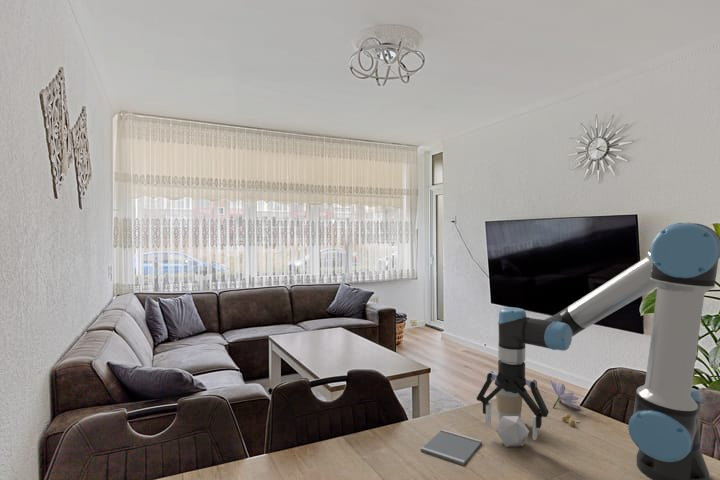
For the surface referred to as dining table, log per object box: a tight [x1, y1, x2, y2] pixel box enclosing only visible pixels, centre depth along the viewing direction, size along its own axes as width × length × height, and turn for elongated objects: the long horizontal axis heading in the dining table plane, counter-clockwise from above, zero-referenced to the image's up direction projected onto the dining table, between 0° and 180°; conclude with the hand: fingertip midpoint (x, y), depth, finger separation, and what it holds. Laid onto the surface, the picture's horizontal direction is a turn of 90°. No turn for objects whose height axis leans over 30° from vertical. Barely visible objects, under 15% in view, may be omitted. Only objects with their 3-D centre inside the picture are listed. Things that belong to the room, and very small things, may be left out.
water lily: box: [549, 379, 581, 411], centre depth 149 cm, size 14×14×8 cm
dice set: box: [561, 413, 580, 427], centre depth 137 cm, size 5×5×2 cm
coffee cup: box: [494, 378, 523, 423], centre depth 138 cm, size 9×9×15 cm
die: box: [495, 416, 530, 448], centre depth 124 cm, size 8×9×10 cm
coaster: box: [420, 429, 483, 466], centre depth 122 cm, size 13×14×1 cm
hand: (511, 431), depth 124 cm, fingers open, 13 cm apart
